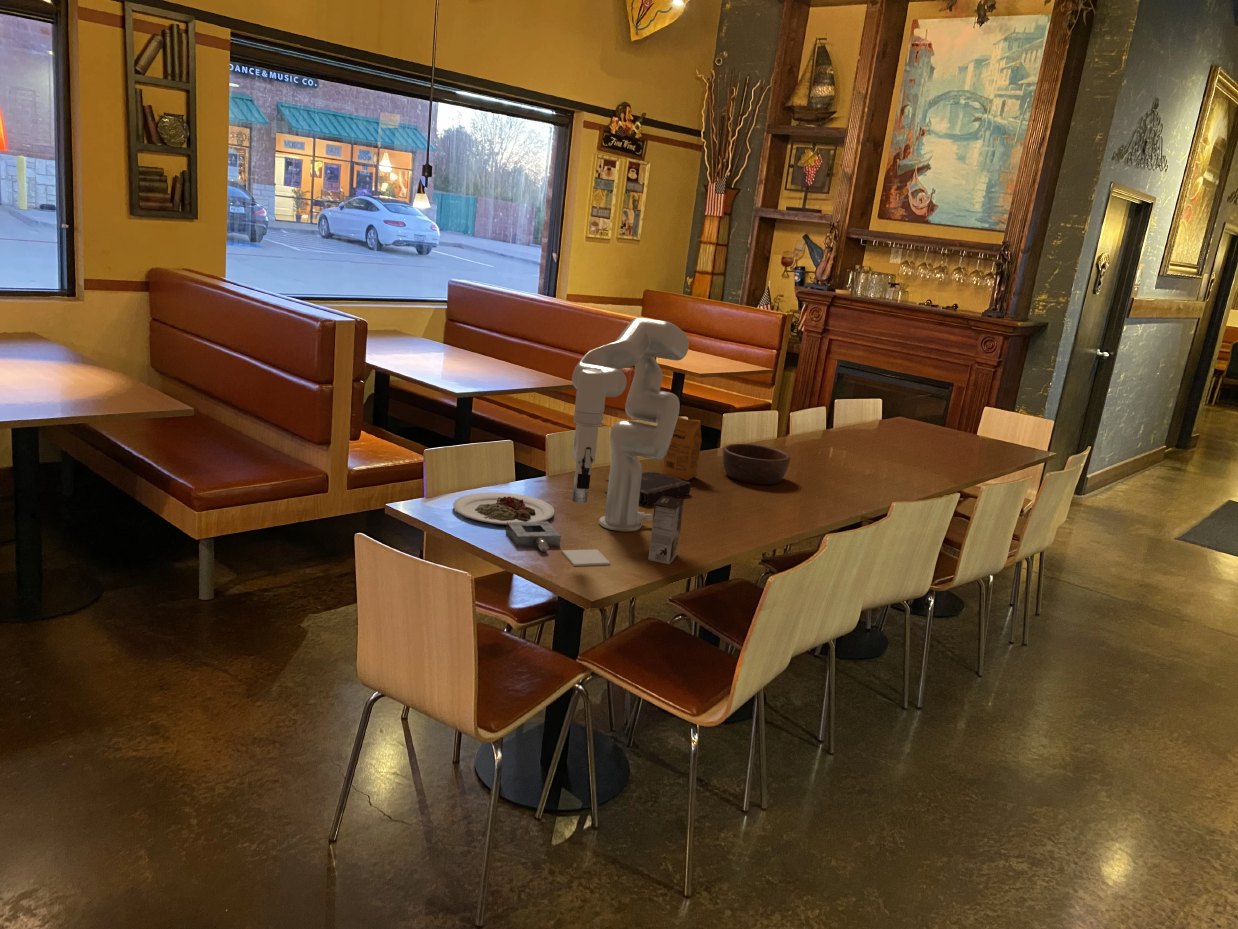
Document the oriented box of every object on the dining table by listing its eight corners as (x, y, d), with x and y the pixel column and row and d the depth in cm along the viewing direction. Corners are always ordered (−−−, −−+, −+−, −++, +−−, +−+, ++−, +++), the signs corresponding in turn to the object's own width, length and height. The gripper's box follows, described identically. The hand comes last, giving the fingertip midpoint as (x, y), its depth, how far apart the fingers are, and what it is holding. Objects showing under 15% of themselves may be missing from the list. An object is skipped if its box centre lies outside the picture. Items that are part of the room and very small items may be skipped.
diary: (690, 496, 321) (692, 482, 320) (646, 508, 302) (648, 493, 301) (646, 482, 332) (648, 469, 331) (602, 493, 313) (603, 479, 312)
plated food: (458, 529, 262) (459, 517, 262) (448, 497, 290) (448, 486, 289) (563, 530, 271) (564, 519, 270) (543, 499, 299) (544, 489, 298)
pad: (596, 551, 256) (597, 549, 256) (609, 564, 247) (610, 562, 247) (562, 552, 252) (562, 550, 252) (573, 566, 243) (574, 563, 243)
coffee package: (671, 470, 352) (678, 412, 346) (700, 478, 345) (708, 419, 340) (657, 474, 343) (664, 415, 338) (686, 482, 337) (694, 422, 331)
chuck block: (546, 531, 268) (547, 521, 267) (565, 552, 252) (566, 541, 252) (505, 532, 263) (506, 522, 262) (522, 553, 248) (523, 542, 247)
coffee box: (655, 550, 262) (662, 494, 258) (677, 554, 260) (685, 499, 256) (647, 560, 253) (653, 503, 249) (670, 564, 252) (677, 507, 248)
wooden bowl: (707, 475, 350) (711, 448, 348) (739, 465, 370) (742, 440, 368) (768, 491, 337) (772, 463, 334) (797, 480, 357) (801, 454, 355)
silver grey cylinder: (570, 498, 249) (576, 454, 246) (585, 499, 250) (591, 455, 247) (572, 502, 245) (578, 458, 243) (587, 503, 246) (593, 459, 243)
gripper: (570, 410, 250) (564, 476, 254) (577, 423, 234) (570, 494, 238) (598, 412, 251) (591, 478, 255) (607, 425, 235) (600, 496, 239)
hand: (581, 485), depth 247 cm, fingers closed on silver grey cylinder, 4 cm apart
